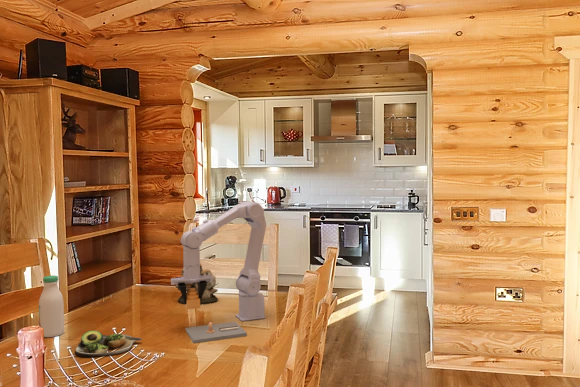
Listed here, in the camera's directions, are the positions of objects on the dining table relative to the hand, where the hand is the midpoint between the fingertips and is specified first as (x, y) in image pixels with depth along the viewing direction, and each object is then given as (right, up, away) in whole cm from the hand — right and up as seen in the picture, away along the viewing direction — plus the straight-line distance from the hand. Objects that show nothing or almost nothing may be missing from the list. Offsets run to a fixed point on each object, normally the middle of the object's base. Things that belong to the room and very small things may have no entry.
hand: (192, 302), depth 174 cm
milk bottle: (-47, -10, -6) cm, 49 cm away
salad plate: (-24, -10, -19) cm, 33 cm away
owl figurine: (-5, -8, +37) cm, 38 cm away
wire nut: (0, -2, 0) cm, 2 cm away
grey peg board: (+9, -9, -6) cm, 14 cm away
